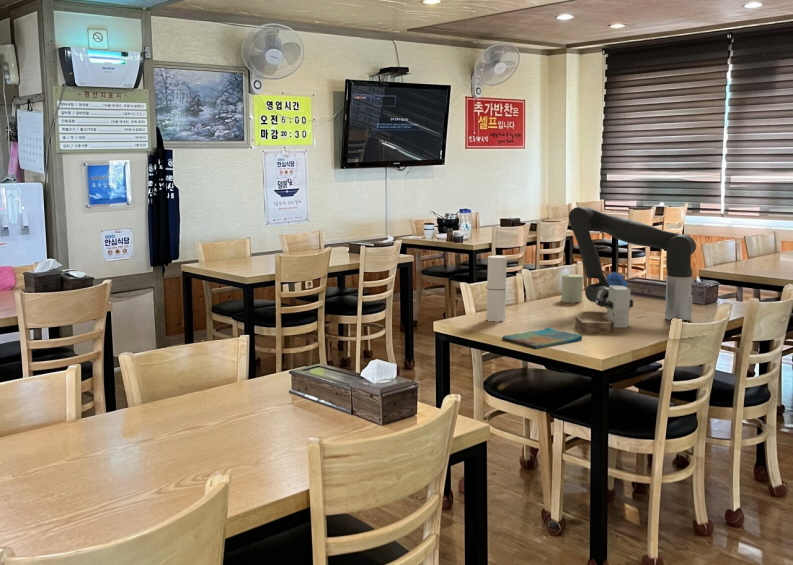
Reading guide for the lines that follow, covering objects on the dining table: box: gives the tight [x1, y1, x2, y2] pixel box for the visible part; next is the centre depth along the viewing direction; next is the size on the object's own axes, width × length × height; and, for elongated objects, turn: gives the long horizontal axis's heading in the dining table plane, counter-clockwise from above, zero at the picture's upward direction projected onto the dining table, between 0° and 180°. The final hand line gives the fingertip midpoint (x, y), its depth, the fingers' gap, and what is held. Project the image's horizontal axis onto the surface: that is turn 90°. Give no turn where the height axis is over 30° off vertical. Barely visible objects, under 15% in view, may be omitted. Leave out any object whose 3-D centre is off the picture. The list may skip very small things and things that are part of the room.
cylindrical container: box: [486, 255, 508, 323], centre depth 308 cm, size 7×7×25 cm
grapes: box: [606, 271, 629, 288], centre depth 359 cm, size 12×7×12 cm, turn 43°
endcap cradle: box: [574, 316, 615, 335], centre depth 292 cm, size 11×11×4 cm
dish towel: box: [501, 326, 583, 350], centre depth 276 cm, size 17×23×2 cm
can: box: [560, 273, 584, 304], centre depth 352 cm, size 9×9×12 cm
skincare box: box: [606, 285, 632, 328], centre depth 300 cm, size 8×6×15 cm
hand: (620, 305), depth 297 cm, fingers closed on skincare box, 6 cm apart
